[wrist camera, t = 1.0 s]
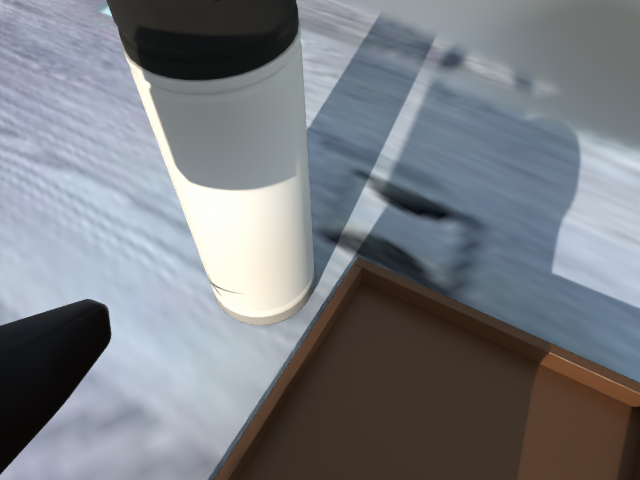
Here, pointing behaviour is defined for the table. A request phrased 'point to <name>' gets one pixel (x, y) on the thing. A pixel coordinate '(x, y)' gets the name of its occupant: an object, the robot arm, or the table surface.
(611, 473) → the serving tray
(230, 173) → the travel mug
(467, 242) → the table surface
